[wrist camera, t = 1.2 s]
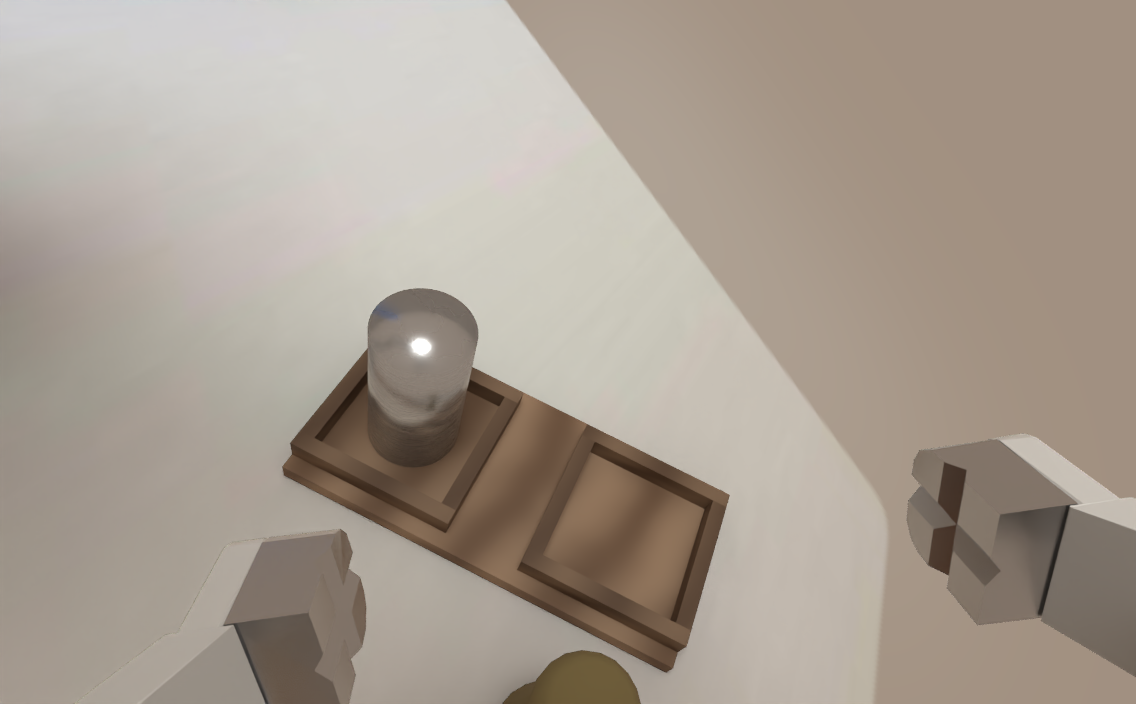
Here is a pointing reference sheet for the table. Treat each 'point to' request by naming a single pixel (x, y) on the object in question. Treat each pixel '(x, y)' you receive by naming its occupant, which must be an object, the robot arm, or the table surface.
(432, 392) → the steel cylinder
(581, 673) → the cork
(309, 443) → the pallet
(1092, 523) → the robot arm
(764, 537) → the table surface
